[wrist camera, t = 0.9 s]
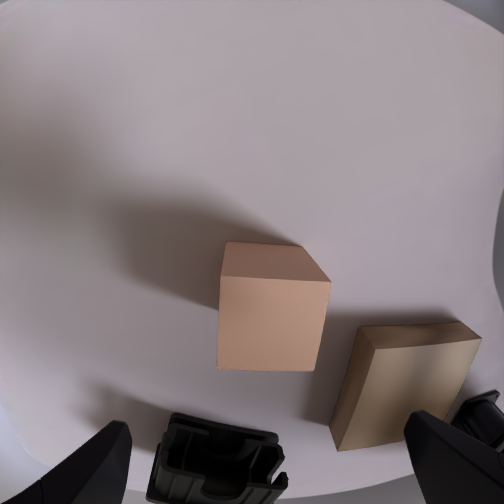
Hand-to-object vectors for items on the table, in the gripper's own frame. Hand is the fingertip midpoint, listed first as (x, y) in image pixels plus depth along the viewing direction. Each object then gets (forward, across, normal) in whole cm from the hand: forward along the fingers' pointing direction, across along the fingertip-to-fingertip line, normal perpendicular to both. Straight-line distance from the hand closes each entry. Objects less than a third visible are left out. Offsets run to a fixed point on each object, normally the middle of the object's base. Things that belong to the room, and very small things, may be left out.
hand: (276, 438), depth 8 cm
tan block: (+11, -12, +8) cm, 18 cm away
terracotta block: (+11, 0, -1) cm, 11 cm away
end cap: (+12, +3, +15) cm, 19 cm away
